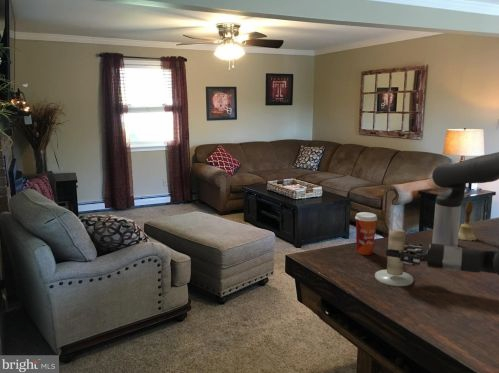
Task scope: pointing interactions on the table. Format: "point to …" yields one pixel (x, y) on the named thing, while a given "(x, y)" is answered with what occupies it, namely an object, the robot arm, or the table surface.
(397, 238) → the wooden cylinder
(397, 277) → the white plate
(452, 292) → the table surface
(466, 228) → the hand bell
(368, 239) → the coffee cup
